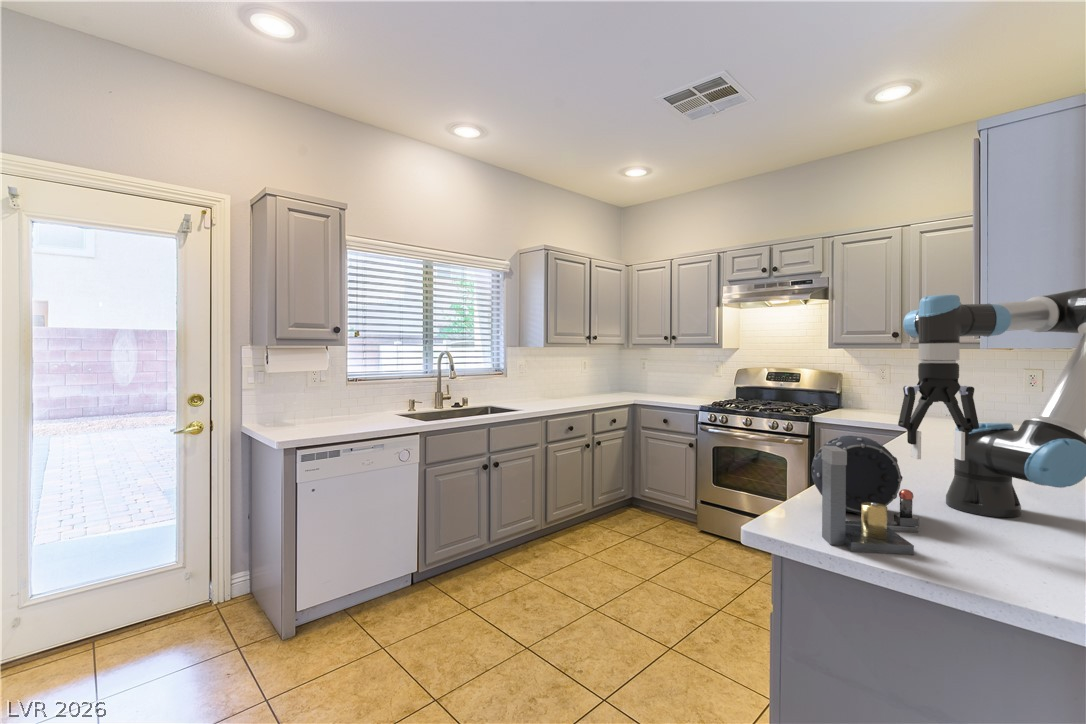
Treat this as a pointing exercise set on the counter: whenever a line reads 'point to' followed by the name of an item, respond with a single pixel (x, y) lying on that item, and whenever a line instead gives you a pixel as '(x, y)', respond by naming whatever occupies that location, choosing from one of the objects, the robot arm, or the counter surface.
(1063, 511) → the counter surface
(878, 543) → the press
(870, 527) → the cylinder
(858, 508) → the dark studded drum
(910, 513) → the lever
